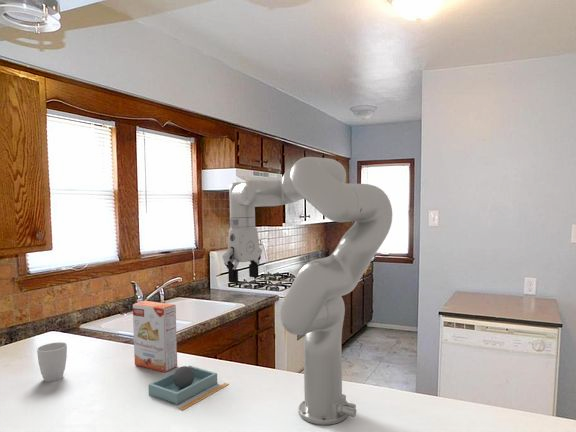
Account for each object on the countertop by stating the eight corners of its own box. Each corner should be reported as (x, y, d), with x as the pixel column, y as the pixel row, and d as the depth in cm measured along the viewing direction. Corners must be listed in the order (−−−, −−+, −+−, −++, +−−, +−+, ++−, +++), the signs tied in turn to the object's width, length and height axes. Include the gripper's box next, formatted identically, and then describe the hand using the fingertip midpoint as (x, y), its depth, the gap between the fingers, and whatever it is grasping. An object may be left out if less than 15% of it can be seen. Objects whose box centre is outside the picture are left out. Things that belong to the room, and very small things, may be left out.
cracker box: (133, 366, 139) (131, 303, 138) (147, 359, 144) (145, 299, 144) (164, 373, 133) (162, 308, 132) (178, 366, 138) (176, 303, 137)
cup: (73, 373, 134) (72, 342, 134) (57, 384, 126) (55, 351, 126) (49, 372, 135) (48, 342, 134) (32, 383, 127) (30, 351, 126)
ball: (199, 386, 122) (198, 365, 122) (183, 393, 117) (182, 372, 117) (184, 381, 125) (184, 361, 125) (168, 389, 120) (168, 368, 120)
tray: (228, 384, 124) (228, 374, 123) (182, 410, 109) (182, 399, 108) (192, 373, 132) (192, 364, 132) (145, 396, 117) (144, 385, 117)
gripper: (233, 225, 117) (234, 286, 117) (269, 222, 131) (270, 276, 132) (213, 224, 121) (214, 283, 121) (250, 221, 135) (251, 274, 136)
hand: (243, 279), depth 127 cm, fingers open, 9 cm apart
